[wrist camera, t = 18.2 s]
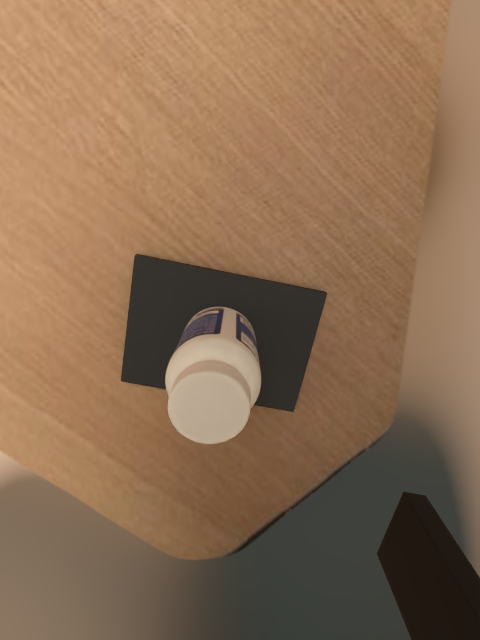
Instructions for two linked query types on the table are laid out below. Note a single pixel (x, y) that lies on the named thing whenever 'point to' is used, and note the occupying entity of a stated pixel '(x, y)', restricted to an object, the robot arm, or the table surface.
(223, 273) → the mat
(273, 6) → the table surface
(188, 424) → the pill bottle
